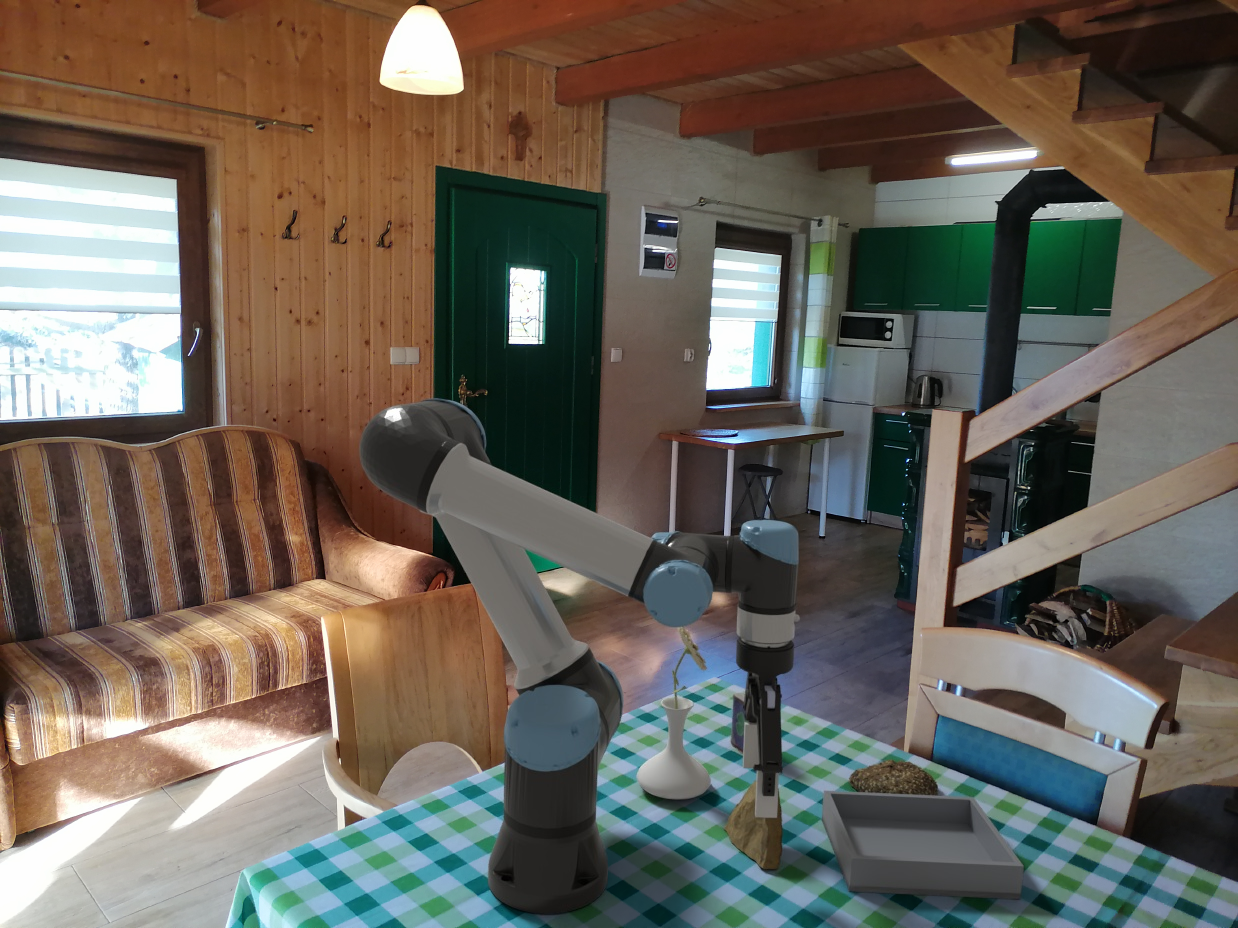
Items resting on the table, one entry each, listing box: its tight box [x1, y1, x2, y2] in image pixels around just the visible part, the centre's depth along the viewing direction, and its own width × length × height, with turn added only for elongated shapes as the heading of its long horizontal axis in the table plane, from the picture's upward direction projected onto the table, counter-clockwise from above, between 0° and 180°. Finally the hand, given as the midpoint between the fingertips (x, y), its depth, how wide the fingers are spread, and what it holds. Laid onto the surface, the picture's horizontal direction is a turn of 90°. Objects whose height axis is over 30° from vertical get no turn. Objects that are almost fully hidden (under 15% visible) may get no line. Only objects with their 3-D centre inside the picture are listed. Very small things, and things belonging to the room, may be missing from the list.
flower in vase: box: [636, 626, 712, 800], centre depth 142 cm, size 13×11×25 cm
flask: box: [730, 692, 748, 755], centre depth 156 cm, size 9×3×11 cm, turn 21°
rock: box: [723, 779, 783, 870], centre depth 126 cm, size 11×9×10 cm
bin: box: [821, 790, 1025, 900], centre depth 126 cm, size 22×18×4 cm
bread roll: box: [848, 759, 939, 796], centre depth 145 cm, size 13×12×5 cm
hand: (758, 790), depth 126 cm, fingers open, 13 cm apart
